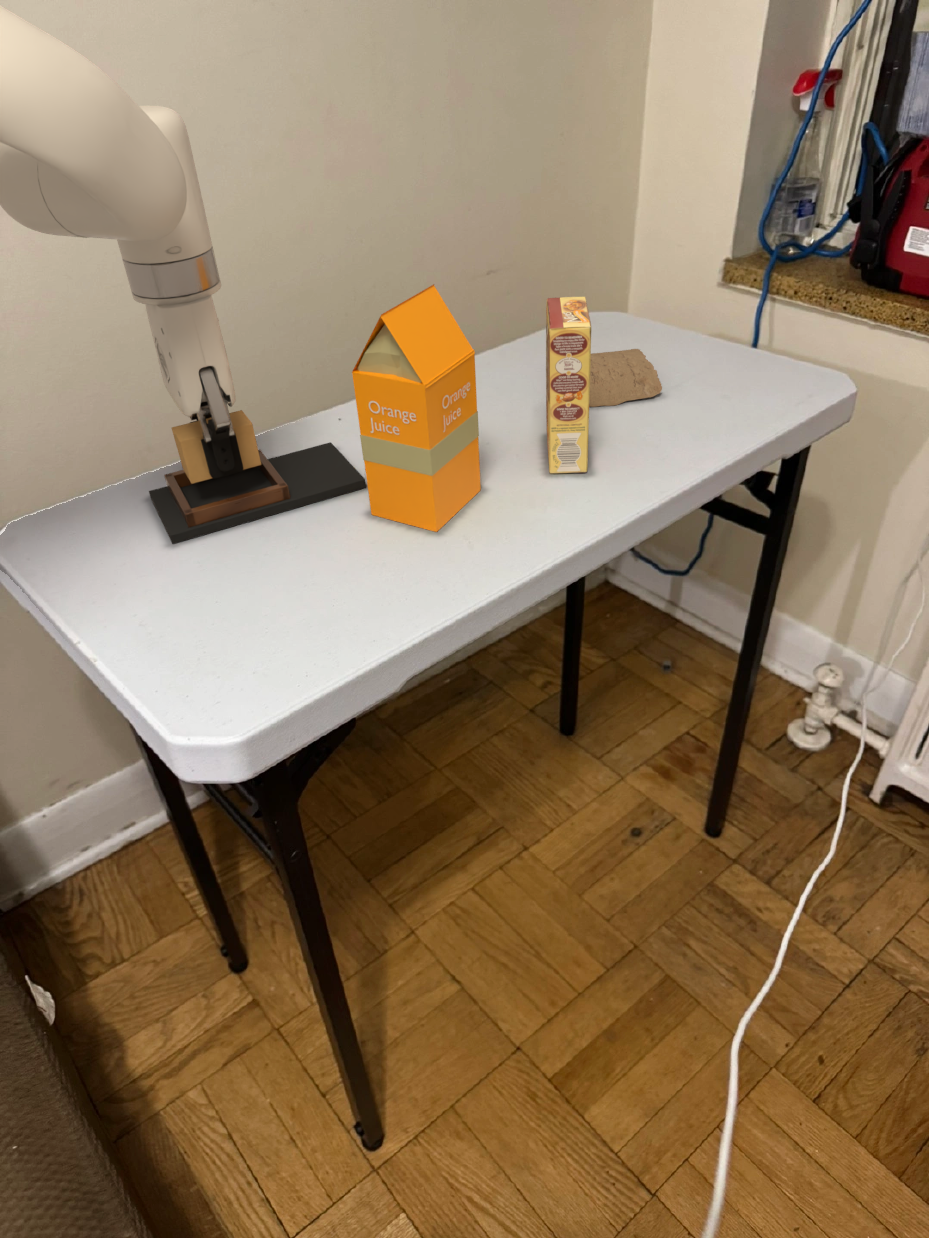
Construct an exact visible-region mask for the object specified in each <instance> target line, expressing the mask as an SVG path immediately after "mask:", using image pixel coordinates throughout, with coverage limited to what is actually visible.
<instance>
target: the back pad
mask: <svg viewBox="0 0 929 1238" xmlns="http://www.w3.org/2000/svg"><path fill="white" fill-rule="evenodd" d="M258 452H259V456H260V461H261V465H259V466H255V467H252V468H248V469H244V470H242V471H241V472H238V473H234V474H230V475H227V476H223V477H219V478H216V479H214V478H211V479H208V480H204V481H200V482H197V483H193V484H191V482H190V480H189V478H188V477H187V475H186V473H185V471H184V470H183V469H180V470H176V471H172V472H168V473H166V474H165V473H164V480H165V483H166V486H162V487H159V488H155V489H151V490H148V494H149V497H150V500H151V502H152V505H153V507H154V508H155V510H156V512H157V514H158V517H159V519H160V521H161V523H162V526H163V527H164V529H165V531H166V534H167V536H168V538H169V540H170V542H171V544H172V545H175V544H178V543H181V542H184V541H188V540H191V539H195V538H199V537H202V536H205V535H208V534H213V533H215V532H218V531H219V532H220V531H223V530H225V529H229V528H232V527H236V526H239V525H243V524H246V523H250V522H253V521H256V520H260V519H263V518H267V517H270V516H273V515H278V514H281V513H284V512H287V511H291V510H294V509H298V508H300V507H305V506H308V505H311V504H315V503H318V502H322V501H325V500H328V499H332V498H335V497H339V496H343V495H345V494H349V493H353V492H355V491H359V490H363V489H366V488H367V481H366V479H365V478H364V476H362V474H361V473H360V472H359V471H358V470H357V469H356V468H355V467H354V465H352V463H351V462H350V461H349V459H347V458H346V457H345V456H344V455H343V453H342V452H341V451H340V450H339V449H338V448H337V447H336V446H335V445H334V444H333V443H332V442H327V443H322V444H319V445H315V446H311V447H308V448H304V449H301V450H296V451H293V452H289V453H286V454H282V455H277V456H274V457H270V458H267V457H266V455H265V454H264V452H263V451H262V449H258Z"/></svg>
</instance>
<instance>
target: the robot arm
mask: <svg viewBox="0 0 929 1238" xmlns="http://www.w3.org/2000/svg"><path fill="white" fill-rule="evenodd" d="M193 154H194V153H193V150H192V145H191V142H190V136H189V133H188V129H187V126H186V123H185V121H184V120H183V118H182V116H181V115H180V113H179V112H177V111H176V110H174V109H173V108H171V107H167V106H164V105H139V104H138V103H137V102H135V100H134V99H133V98H132V97H131V96H130V95H129V94H128V93H127V92H126V91H125V90H124V89H123V88H122V87H121V86H120V85H119V84H118V83H117V82H116V81H115V80H114V79H113V78H112V77H111V76H109V74H107V72H106V71H104V70H103V69H101V68H100V67H99V66H98V65H97V64H95V63H94V62H93V61H92V60H90V59H88V58H87V57H86V56H84V55H83V54H82V53H80V52H79V51H77V50H76V49H74V48H73V47H72V46H69V45H68V44H66V43H65V42H63V41H62V40H60V39H59V38H57V37H55V36H54V35H52V34H51V33H48V32H47V31H45V30H43V29H42V28H40V27H38V26H37V25H35V24H33V23H31V22H30V21H28V20H26V19H24V17H23V18H22V17H21V16H19V15H18V14H16V13H14V12H12V11H11V10H9V9H7V7H4V6H3V5H1V4H0V207H1V208H2V210H3V211H4V212H5V213H6V214H7V215H8V216H9V217H11V218H12V220H14V221H15V222H17V223H18V224H20V225H22V226H24V227H26V228H27V229H30V230H32V231H35V232H38V233H42V234H45V235H51V236H60V237H61V236H62V237H74V238H83V239H84V238H85V239H87V238H94V239H105V240H116V241H117V245H118V248H119V251H120V255H121V259H122V263H123V266H124V267H123V268H124V270H125V274H126V277H127V280H128V284H129V288H130V291H131V295H132V299H133V300H134V301H135V302H136V303H139V304H140V303H141V304H143V305H145V311H146V314H147V319H148V322H149V327H150V331H151V335H152V340H153V344H154V347H155V352H156V356H157V360H158V364H159V369H160V373H161V378H162V381H163V384H164V387H165V389H166V391H167V392H168V394H169V396H170V398H171V399H172V400H173V402H174V403H175V405H176V406H177V408H178V409H179V411H180V412H181V414H183V415H184V416H185V417H188V418H189V420H190V422H189V423H192V422H196V421H199V423H200V427H201V431H202V434H203V437H204V439H202V440H201V443H202V446H203V450H204V454H205V458H206V462H207V465H208V469H209V473H210V475H211V477H212V478H214V479H216V478H219V477H223V476H227V475H230V474H234V473H238V472H241V471H242V470H243V464H242V459H241V455H240V451H239V447H238V442H237V438H236V434H235V432H234V429H233V425H232V421H231V418H230V414H229V413H230V411H229V407H230V408H232V407H233V406H234V405H235V403H236V401H237V398H236V389H235V386H234V385H235V384H234V381H233V376H232V371H231V367H230V362H229V358H228V353H227V350H226V345H225V342H224V338H223V333H222V329H221V326H220V320H219V317H218V315H217V311H216V307H215V304H214V300H213V295H214V294H216V293H217V292H219V291H220V290H221V289H222V288H221V287H222V282H221V278H220V273H219V269H218V264H217V261H216V260H217V259H216V255H215V251H214V246H213V243H212V237H211V232H210V228H209V224H208V219H207V215H206V210H205V209H206V208H205V205H204V200H203V196H202V190H201V187H200V182H199V177H198V173H197V169H196V163H195V160H194V155H193ZM228 406H229V407H228ZM208 418H211V419H210V420H208V424H207V421H206V419H208Z"/></svg>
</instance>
